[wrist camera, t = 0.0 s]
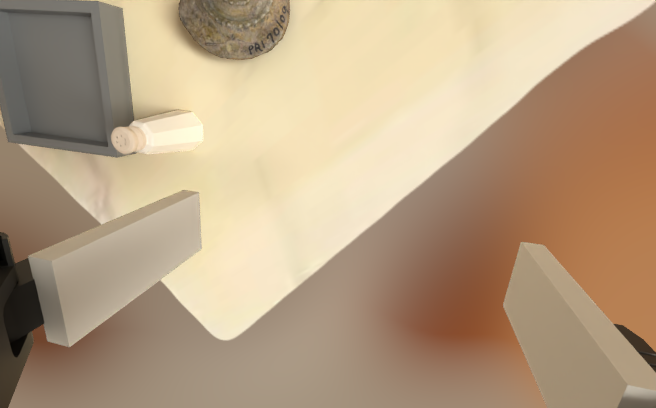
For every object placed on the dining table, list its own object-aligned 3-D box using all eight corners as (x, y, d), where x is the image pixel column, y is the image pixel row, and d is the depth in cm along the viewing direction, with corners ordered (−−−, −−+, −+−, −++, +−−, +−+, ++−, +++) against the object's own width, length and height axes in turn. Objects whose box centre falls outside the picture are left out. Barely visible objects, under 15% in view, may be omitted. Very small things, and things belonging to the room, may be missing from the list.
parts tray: (6, 3, 46) (-25, -4, 42) (122, 8, 42) (98, 1, 39) (33, 139, 51) (8, 142, 48) (137, 153, 48) (117, 157, 45)
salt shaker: (196, 103, 44) (130, 106, 34) (210, 145, 45) (152, 160, 35) (162, 115, 45) (90, 121, 35) (177, 154, 47) (112, 172, 36)
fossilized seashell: (289, 63, 38) (242, 43, 32) (225, 71, 44) (175, 55, 38) (294, -40, 37) (246, -81, 31) (227, -18, 42) (175, -49, 36)
